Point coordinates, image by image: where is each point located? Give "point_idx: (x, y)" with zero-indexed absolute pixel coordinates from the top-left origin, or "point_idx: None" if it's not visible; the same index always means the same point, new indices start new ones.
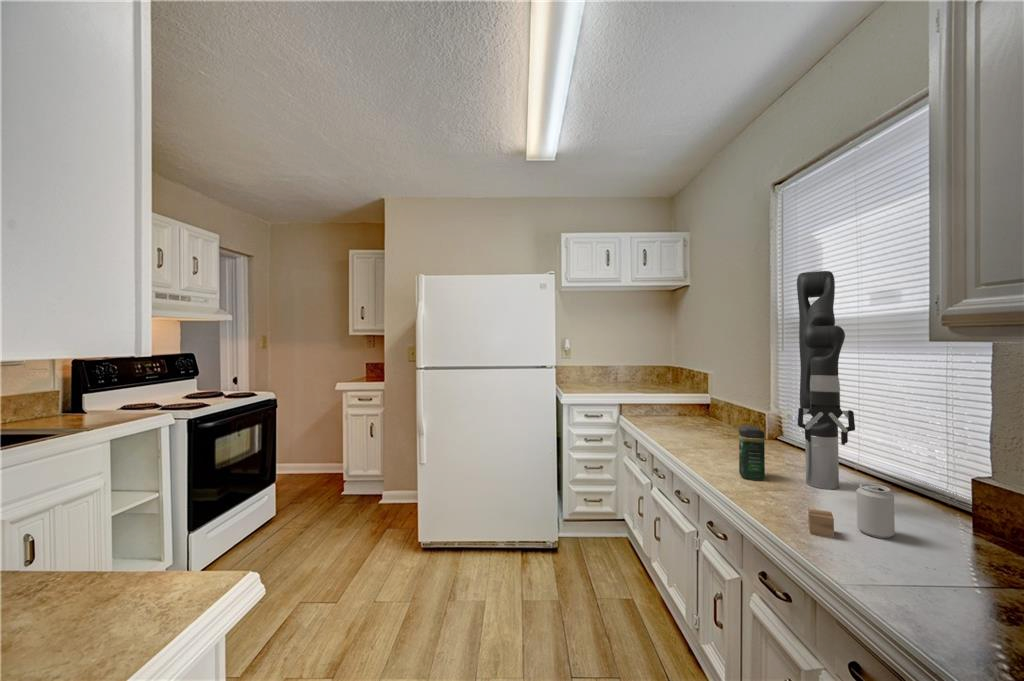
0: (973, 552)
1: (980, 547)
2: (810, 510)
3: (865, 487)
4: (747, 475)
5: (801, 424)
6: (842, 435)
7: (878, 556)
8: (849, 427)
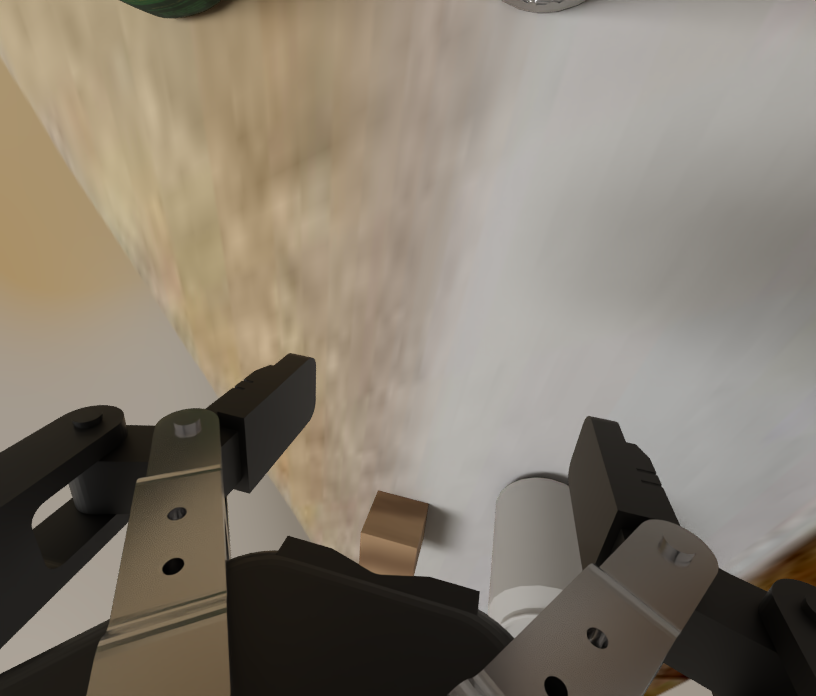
0: (752, 575)
1: (813, 550)
2: (364, 544)
3: (518, 628)
4: (149, 12)
5: (113, 521)
6: (584, 553)
7: (487, 599)
8: (726, 690)
